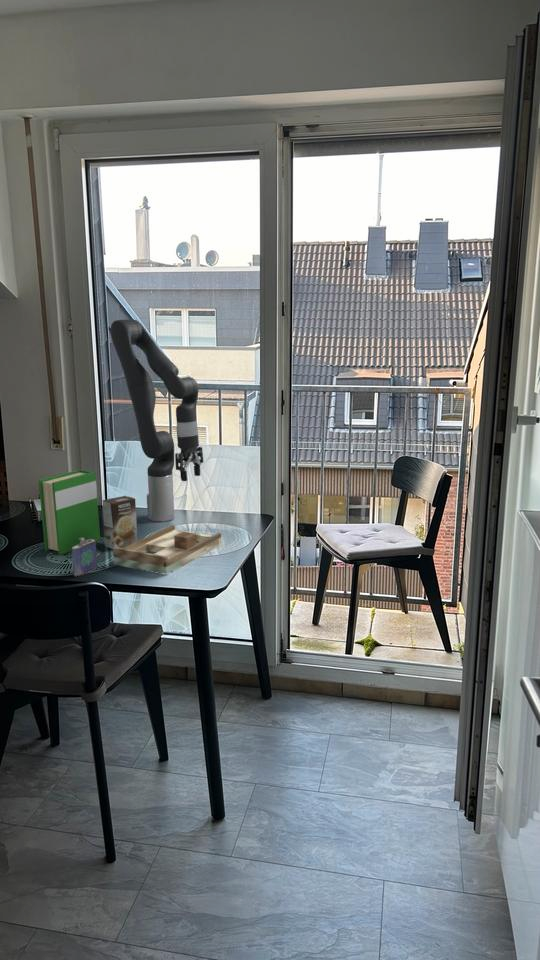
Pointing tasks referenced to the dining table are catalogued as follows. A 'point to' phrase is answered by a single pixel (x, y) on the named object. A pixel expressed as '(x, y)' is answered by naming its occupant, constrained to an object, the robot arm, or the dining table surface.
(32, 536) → the dining table surface
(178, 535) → the walnut block
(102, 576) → the dining table surface
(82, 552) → the flask
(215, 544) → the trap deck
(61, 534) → the hardback book
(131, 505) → the coffee box
